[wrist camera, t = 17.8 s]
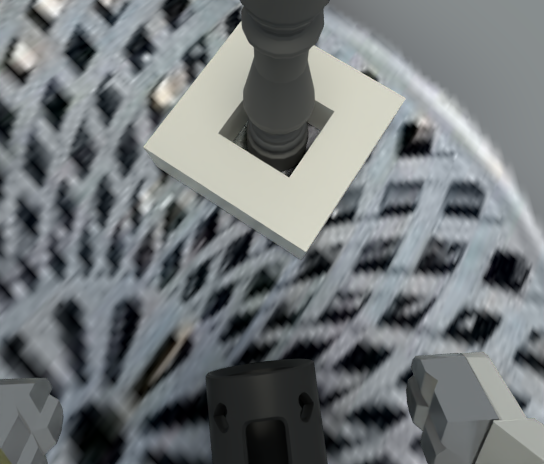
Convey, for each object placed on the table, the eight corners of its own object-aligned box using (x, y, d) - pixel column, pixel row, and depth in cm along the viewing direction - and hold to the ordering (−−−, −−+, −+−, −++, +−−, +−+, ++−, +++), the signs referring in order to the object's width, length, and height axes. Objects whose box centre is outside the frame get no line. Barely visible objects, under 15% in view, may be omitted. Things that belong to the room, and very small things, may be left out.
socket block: (157, 166, 44) (143, 147, 39) (252, 41, 47) (250, 8, 42) (301, 260, 42) (306, 251, 37) (390, 122, 45) (405, 98, 40)
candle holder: (285, 182, 43) (308, 2, 19) (236, 152, 44) (196, -59, 20) (316, 136, 45) (375, -90, 20) (267, 107, 45) (267, -145, 21)
